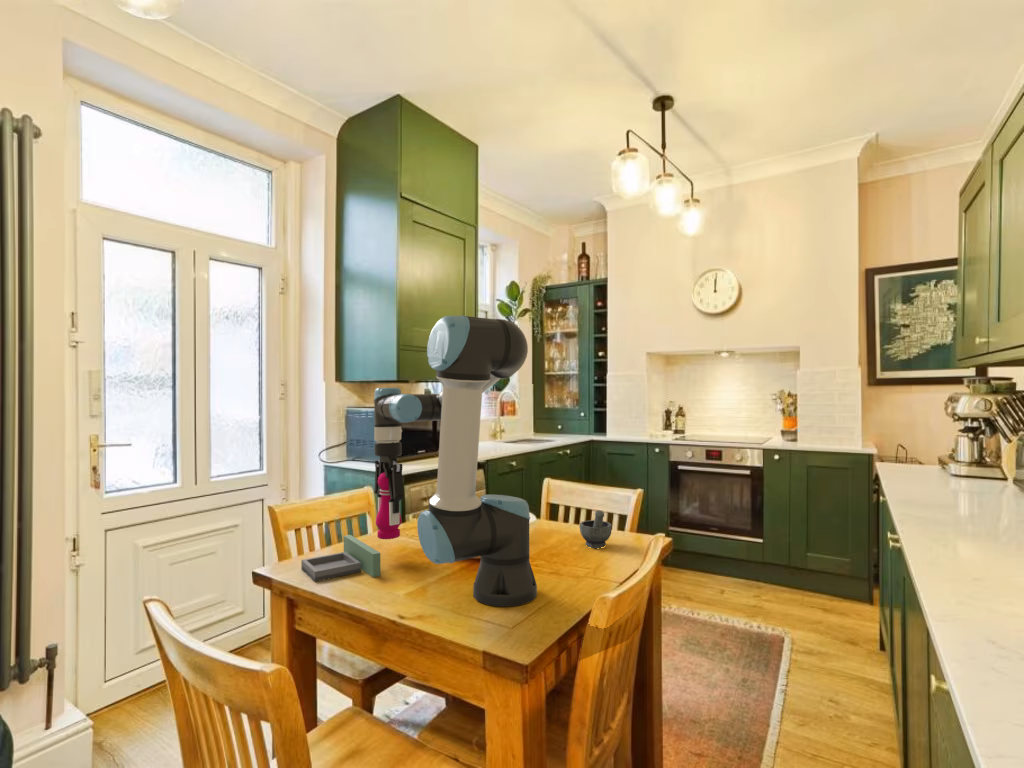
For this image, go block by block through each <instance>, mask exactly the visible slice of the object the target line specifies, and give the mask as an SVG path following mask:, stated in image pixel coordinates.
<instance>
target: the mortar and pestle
mask: <svg viewBox="0 0 1024 768" xmlns="http://www.w3.org/2000/svg"><path fill="white" fill-rule="evenodd" d="M594 515H595V516H594V519H593V520H592V519H591V520H584V521H582V522H580V523H579V532H580V535H581V536H582V538H583V539H584V540H585V546H586V545H587V546H588V547H591V548H601V547H604V546H605V545H606V542H607V541H608V540H609V539H610V537H611V534H612V528H613V525H612V524H611V523H610V522H608V521H606V520H604V517H605V513H604V511H603V510H596V511H595V512H594ZM606 546H607V545H606Z"/></svg>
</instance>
